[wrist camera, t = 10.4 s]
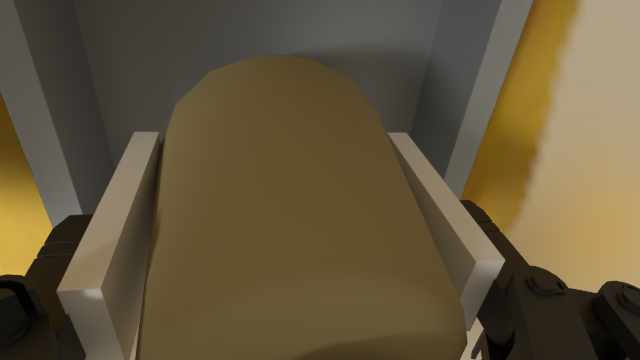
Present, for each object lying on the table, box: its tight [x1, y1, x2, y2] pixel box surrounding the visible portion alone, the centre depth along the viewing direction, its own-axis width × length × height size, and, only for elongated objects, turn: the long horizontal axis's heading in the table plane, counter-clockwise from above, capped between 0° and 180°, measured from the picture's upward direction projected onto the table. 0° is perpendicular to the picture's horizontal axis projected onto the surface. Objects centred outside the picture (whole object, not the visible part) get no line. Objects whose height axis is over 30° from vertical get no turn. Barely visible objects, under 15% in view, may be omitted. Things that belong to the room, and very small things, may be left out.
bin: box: [0, 0, 533, 228], centre depth 17 cm, size 17×17×5 cm
